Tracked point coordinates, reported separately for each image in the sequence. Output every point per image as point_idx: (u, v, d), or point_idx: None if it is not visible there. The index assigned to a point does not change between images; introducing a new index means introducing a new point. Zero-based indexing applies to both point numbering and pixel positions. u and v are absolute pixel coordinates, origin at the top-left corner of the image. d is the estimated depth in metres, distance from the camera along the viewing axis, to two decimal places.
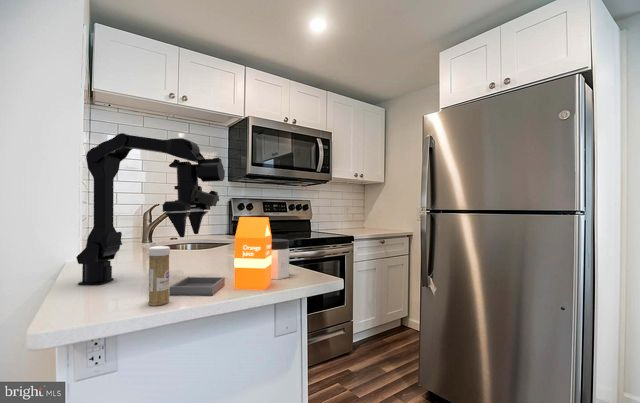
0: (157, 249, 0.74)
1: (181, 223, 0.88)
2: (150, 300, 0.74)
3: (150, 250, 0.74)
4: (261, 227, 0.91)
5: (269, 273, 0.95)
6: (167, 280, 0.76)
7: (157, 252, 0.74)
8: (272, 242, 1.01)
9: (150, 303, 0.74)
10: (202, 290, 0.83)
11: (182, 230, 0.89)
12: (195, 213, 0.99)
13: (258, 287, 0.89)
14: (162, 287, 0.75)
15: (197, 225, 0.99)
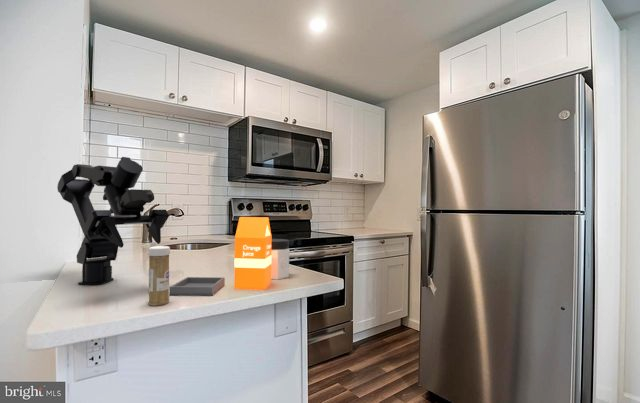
0: (157, 249, 0.74)
1: (112, 233, 0.77)
2: (150, 300, 0.74)
3: (150, 250, 0.74)
4: (261, 227, 0.91)
5: (269, 273, 0.95)
6: (167, 280, 0.76)
7: (157, 252, 0.74)
8: (272, 242, 1.01)
9: (150, 303, 0.74)
10: (202, 290, 0.83)
11: (116, 239, 0.77)
12: (151, 225, 0.88)
13: (258, 287, 0.89)
14: (162, 287, 0.75)
15: (156, 234, 0.86)
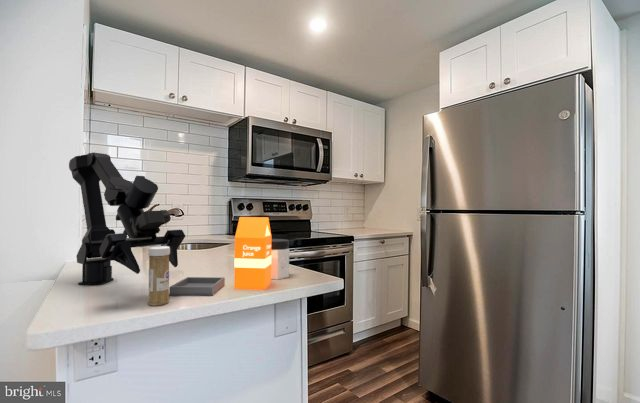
0: (157, 249, 0.74)
1: (127, 258, 0.73)
2: (150, 300, 0.74)
3: (150, 250, 0.74)
4: (261, 227, 0.91)
5: (269, 273, 0.95)
6: (167, 280, 0.76)
7: (157, 252, 0.74)
8: (272, 242, 1.01)
9: (150, 303, 0.74)
10: (202, 290, 0.83)
11: (133, 264, 0.73)
12: None
13: (258, 287, 0.89)
14: (162, 287, 0.75)
15: (172, 256, 0.81)
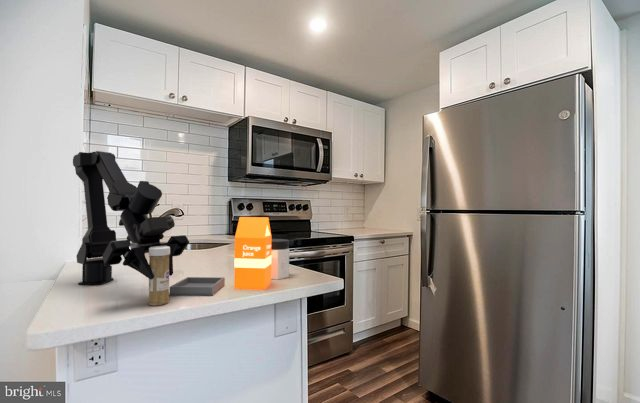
0: (157, 249, 0.74)
1: (141, 264, 0.74)
2: (150, 300, 0.74)
3: (150, 250, 0.74)
4: (261, 227, 0.91)
5: (269, 273, 0.95)
6: (167, 280, 0.76)
7: (157, 252, 0.74)
8: (272, 242, 1.01)
9: (150, 303, 0.74)
10: (202, 290, 0.83)
11: (146, 270, 0.73)
12: None
13: (258, 287, 0.89)
14: (162, 286, 0.75)
15: None
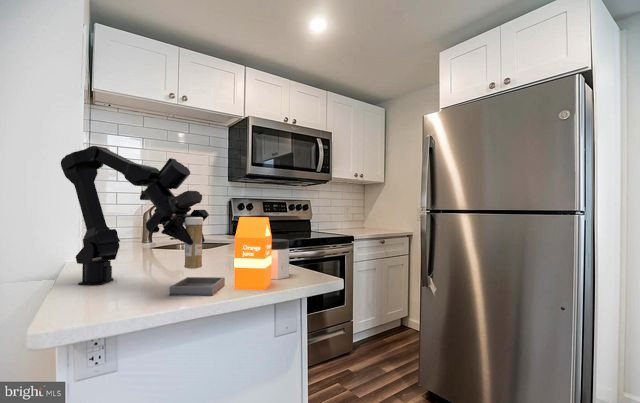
0: (196, 218, 0.84)
1: (181, 232, 0.83)
2: (188, 264, 0.84)
3: (189, 219, 0.84)
4: (261, 227, 0.91)
5: (269, 273, 0.95)
6: (201, 246, 0.86)
7: (195, 221, 0.84)
8: (272, 242, 1.01)
9: (188, 266, 0.84)
10: (202, 290, 0.83)
11: (187, 237, 0.83)
12: None
13: (258, 287, 0.89)
14: (199, 252, 0.85)
15: None
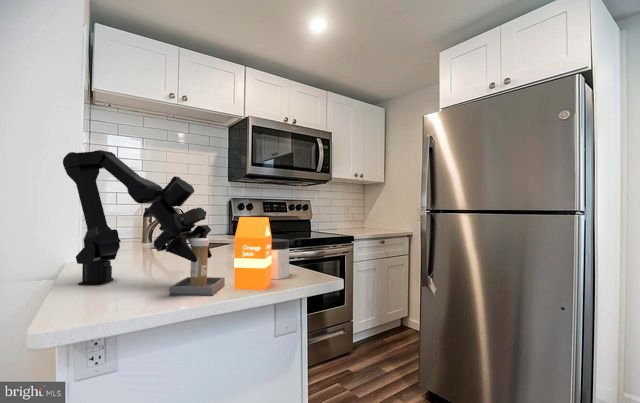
0: (202, 240, 0.87)
1: (185, 249, 0.84)
2: (194, 284, 0.86)
3: (196, 241, 0.86)
4: (261, 227, 0.91)
5: (269, 273, 0.95)
6: None
7: (202, 243, 0.87)
8: (272, 242, 1.01)
9: None
10: (202, 290, 0.83)
11: (191, 255, 0.84)
12: None
13: (258, 287, 0.89)
14: (205, 272, 0.87)
15: None
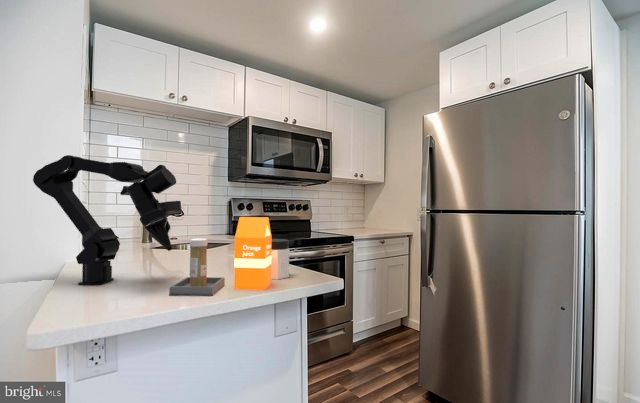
0: (201, 240, 0.87)
1: (163, 232, 0.88)
2: (194, 285, 0.86)
3: (194, 241, 0.86)
4: (261, 227, 0.91)
5: (269, 273, 0.95)
6: (206, 267, 0.89)
7: (201, 243, 0.87)
8: (272, 242, 1.01)
9: None
10: (202, 290, 0.83)
11: (166, 238, 0.89)
12: None
13: (258, 287, 0.89)
14: (204, 272, 0.87)
15: None
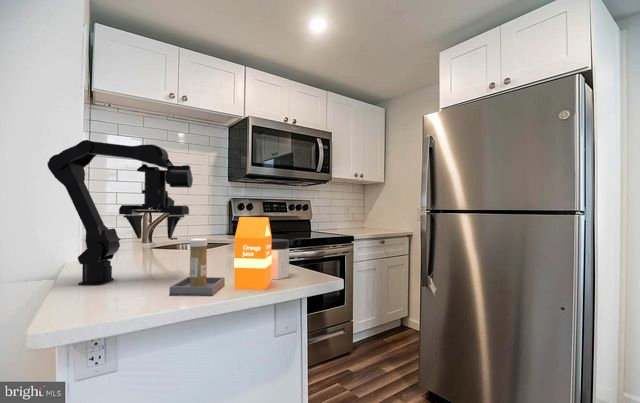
0: (201, 240, 0.87)
1: (174, 225, 0.98)
2: (194, 285, 0.86)
3: (194, 241, 0.86)
4: (261, 227, 0.91)
5: (269, 273, 0.95)
6: (206, 267, 0.89)
7: (201, 243, 0.87)
8: (272, 242, 1.01)
9: None
10: (202, 290, 0.83)
11: (172, 232, 0.98)
12: (137, 217, 0.97)
13: (258, 287, 0.89)
14: (204, 272, 0.87)
15: (140, 229, 0.98)
